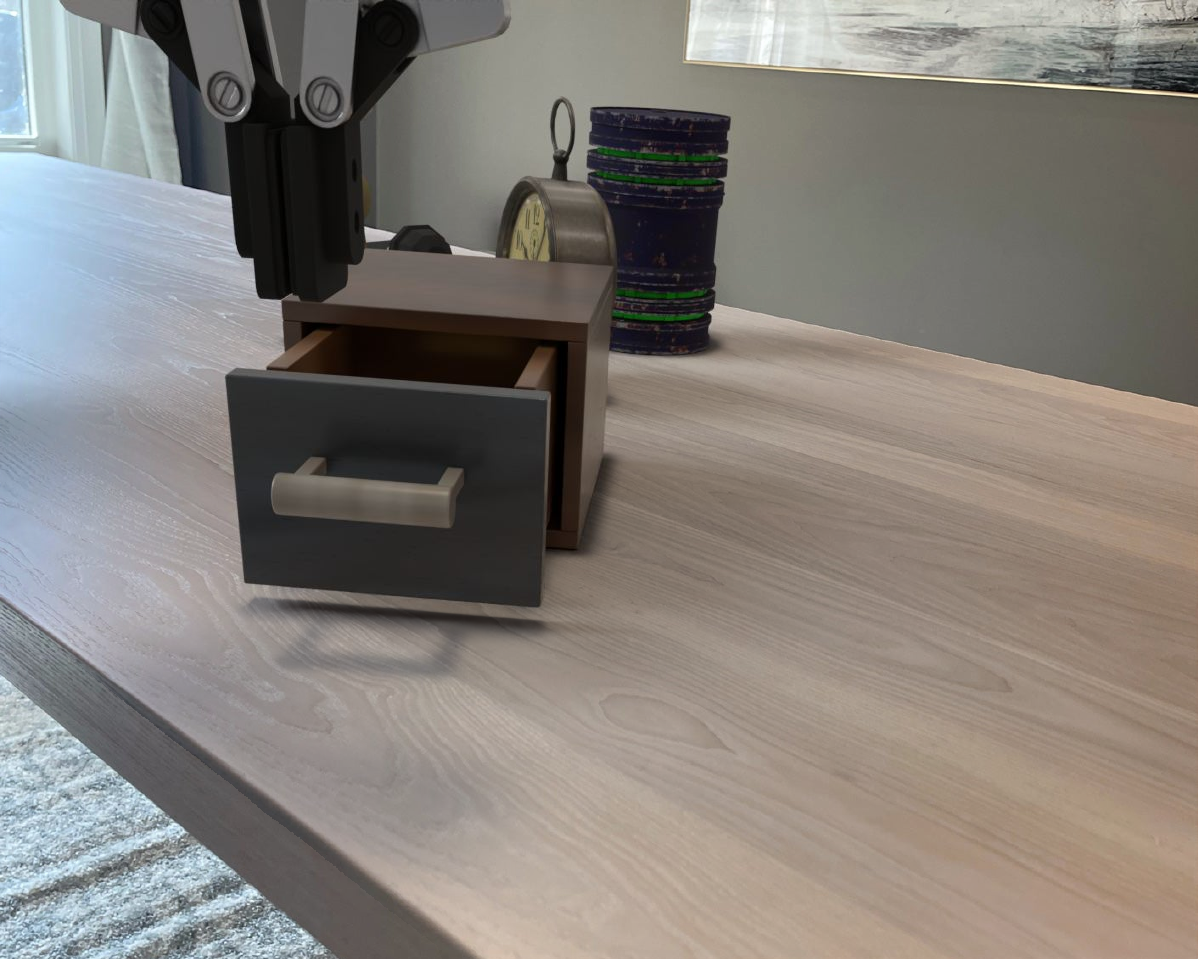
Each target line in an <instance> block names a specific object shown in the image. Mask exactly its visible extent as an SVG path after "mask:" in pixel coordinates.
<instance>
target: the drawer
mask: <svg viewBox="0 0 1198 959" xmlns="http://www.w3.org/2000/svg"><path fill="white" fill-rule="evenodd" d="M565 352H566V341H556V340H542V339H529V338H515V337H502V336H488V335H475V334H462V333H448V332H435V331H421V330H408V329H394V328H381V327H367V326H354V325H341V324H327V323H324V324H323V325H321V326H320V327H319V328H317V329H316V330H315V331H313V332H312V333H311V334H309V335H308V336H307V337H305V338H304V339H303V340H301V341H300V342H298V343H297V344H296V345H294V346H293V347H292V348H290V349H289V350H288V351H286V352H285V351H284V353H282V354H281V355H280V356H278V357H276V358H275V359H274V360H273V361H271V362H270V363H269V364H267V365H266V367H265V369H259V368H247V367H246V368H245V367H235V368H234V369H232V370H231V371H229V372H227V373H226V374H225V375H224V380H225V381H224V382H225V391H226V402H227V411H228V412H227V413H228V423H229V434H230V435H229V436H230V444H231V445H230V446H231V456H232V466H233V468H232V469H233V477H234V488H235V499H236V510H237V511H236V512H237V522H238V532H239V541H240V542H239V544H240V552H241V564H242V576H243V582H244V584H247V585H258V586H259V585H261V586H270V587H271V586H272V587H282V588H283V587H284V588H295V589H296V588H297V589H310V590H321V591H332V592H333V591H334V592H343V593H358V594H368V595H369V594H370V595H380V596H381V595H382V596H392V597H393V596H394V597H406V598H415V599H416V598H419V599H430V600H441V601H451V602H452V601H453V602H455V601H456V602H466V603H478V604H489V605H490V604H491V605H503V606H512V607H513V606H514V607H523V608H524V607H526V608H536V609H537V608H541V605H542V602H543V600H544V597H545V577H546V576H545V574H546V573H545V572H546V548H547V547H546V528H547V525H548V522H549V520H550V517H551V514H552V511H553V508H554V505H555V502H556V499H557V497H558V494H559V491H560V477H561V475H560V473H561V452H562V427H563V402H564V377H565Z"/></svg>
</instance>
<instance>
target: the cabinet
mask: <svg viewBox="0 0 1198 959" xmlns="http://www.w3.org/2000/svg"><path fill="white" fill-rule="evenodd" d="M452 254H453V253H452ZM452 254H438V253H424V252H410V251H396V250H382V249H368V248H366V249H364V255H363V259H362V261H361V263H359V264H358V265H348V281H347V285H346V287H345V288H343V289H342V290H340V291H339V292H337V293H336V294H334V295H333V296H331V297H330V298H328V299H327V300H325V301H324V302H322V303H316V302H301V301H300V299H299V297H298V296H294V295H293V294H290V295H289V296H287V297H285V298H284V299H282V300H280V303H281V318H282V334H283V348H284V353H285V352H286V351H288V350H289V349H290V348H292V347H293V346H294V345H296V344H297V343H298V342H300V341H301V340H303V339H304V338H305V337H307V336H308V335H309V334H311V333H312V332H313V331H315V330H316V329H317V328H319V327H320V326H321V325H323V324H324V323H327V324H341V325H354V326H367V327H381V328H394V329H408V330H421V331H435V332H448V333H462V334H475V335H488V336H502V337H515V338H529V339H542V340H556V341H566V352H565V377H564V402H563V427H562V452H561V473H560V475H561V477H560V491H559V494H558V497H557V499H556V502H555V505H554V508H553V511H552V514H551V517H550V520H549V522H548V525H547V528H546V547H545V548H554V549H557V548H558V549H567V550H578V548H579V545H580V541H581V538H582V534H583V530H584V527H585V524H586V519H587V516H588V513H589V510H590V506H591V501H592V497H593V494H594V491H595V486H596V484H597V479H598V476H599V472H600V469H601V465H602V461H603V458H604V448H605V443H604V442H605V434H606V433H605V432H606V413H607V398H608V397H607V395H608V379H609V359H610V350H609V345H610V327H611V310H612V292H613V274H614V267H613V266H605V265H591V264H577V263H563V262H549V261H535V260H521V259H508V258H495V257H492V256H479V255H477V256H476V255H467V254H466V255H465V254H453V255H452Z"/></svg>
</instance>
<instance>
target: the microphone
mask: <svg viewBox="0 0 1198 959" xmlns="http://www.w3.org/2000/svg"><path fill="white" fill-rule="evenodd" d="M366 244H367V248H368V249H382V250H396V251H410V252H424V253H438V254H452V255H454V254H453V250H452V247H451V245H450V244H449V243H448V242H447V241H446V238H445V237H444V236H443V235H442V234H440V232H438V231H437V230H436V229H434V228H433V227H432V226H431V225H430V224H412V225H404V226H402V227H401V228H400V230H399V231H398V232H397V233H396V234H395V235H394V236H393V237H392V238H391V239H388V240H377V241H366Z"/></svg>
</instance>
